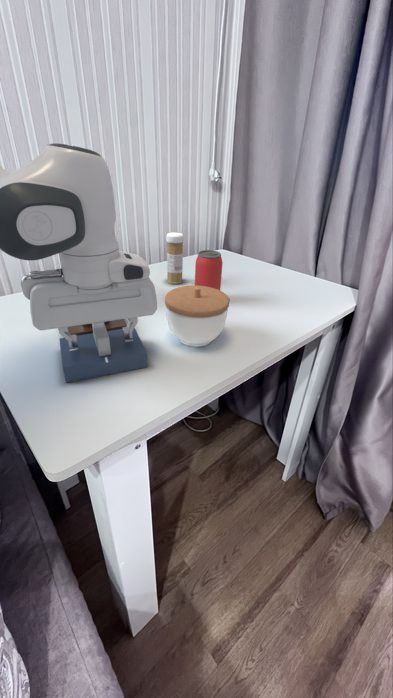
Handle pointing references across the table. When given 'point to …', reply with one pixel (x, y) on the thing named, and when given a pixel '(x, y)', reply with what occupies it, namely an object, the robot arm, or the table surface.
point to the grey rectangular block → (101, 338)
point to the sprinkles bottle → (174, 257)
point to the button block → (89, 330)
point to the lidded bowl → (196, 314)
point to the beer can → (208, 269)
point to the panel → (89, 363)
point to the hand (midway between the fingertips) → (101, 341)
